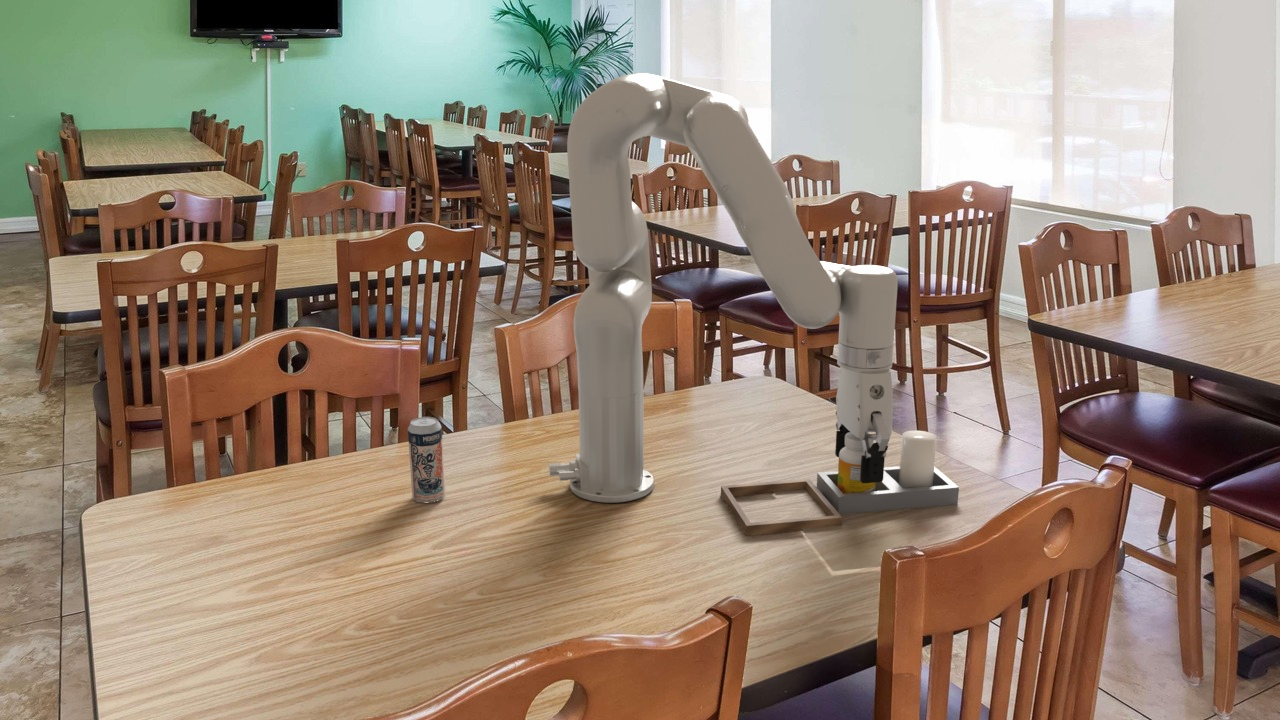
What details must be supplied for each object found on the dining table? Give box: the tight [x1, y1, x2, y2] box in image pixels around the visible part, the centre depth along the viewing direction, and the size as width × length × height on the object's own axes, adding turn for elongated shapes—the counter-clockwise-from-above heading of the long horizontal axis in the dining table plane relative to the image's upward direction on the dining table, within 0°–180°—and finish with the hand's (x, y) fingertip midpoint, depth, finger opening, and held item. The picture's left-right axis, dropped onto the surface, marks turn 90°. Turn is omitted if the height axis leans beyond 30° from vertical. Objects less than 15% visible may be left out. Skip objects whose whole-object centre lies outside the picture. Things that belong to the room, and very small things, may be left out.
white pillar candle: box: [899, 430, 938, 489], centre depth 157 cm, size 5×5×9 cm
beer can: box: [407, 416, 447, 503], centre depth 157 cm, size 5×5×12 cm
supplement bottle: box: [837, 432, 876, 494], centre depth 156 cm, size 5×5×10 cm
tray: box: [720, 478, 843, 537], centre depth 154 cm, size 14×14×2 cm
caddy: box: [816, 465, 960, 515], centre depth 158 cm, size 18×9×3 cm, turn 100°
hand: (858, 468), depth 156 cm, fingers open, 9 cm apart
